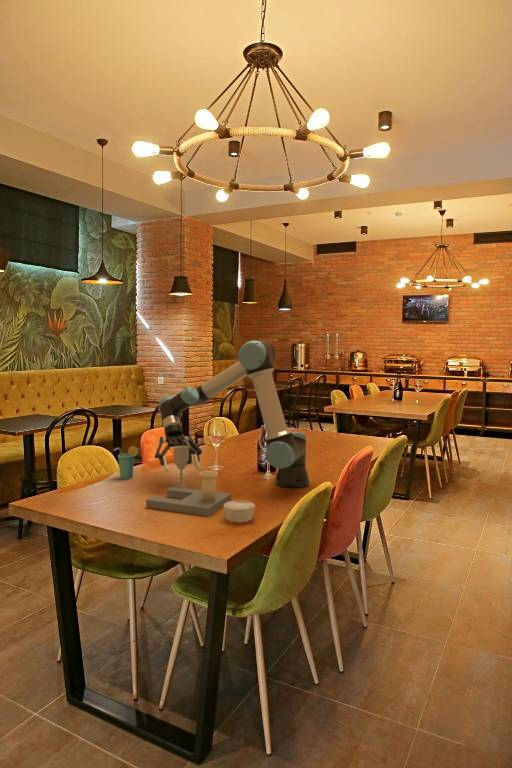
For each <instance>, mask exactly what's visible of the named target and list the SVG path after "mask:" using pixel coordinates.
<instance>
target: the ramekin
mask: <svg viewBox="0 0 512 768" xmlns="http://www.w3.org/2000/svg"><path fill="white" fill-rule="evenodd" d="M222 508H223V509H224V517H225V519H226V520H227V521H228V522H231V523H233V522H236V524H244V523H243V522H245V523H248V521H249V522H251V521H252V519H253V517H254V513H255V509H256V504H255V503H253V502H252V501H249V500H231V501H229V502H226V503H225V504H224V506H223V507H222ZM250 520H251V521H250Z"/></svg>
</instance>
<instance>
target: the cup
mask: <svg viewBox="0 0 512 768" xmlns="http://www.w3.org/2000/svg"><path fill="white" fill-rule="evenodd" d="M117 450H118V451H119V454H118V455H117V458H118V466H119V467H118V468H119V477H121V478H122V479H121V478H120V479H121V480H131V479H133V478H132V477H133V475H134V468H135V467H134V466H135V465H134V464H135V457H137V456H138V454H139V450H138V447H137V446H134V445H132V446H130V447H129V448H128V450H127V452H125V453H123V452H122V449H121V447H119V446H118V447H116V448H114V449H112V451H113V452H116V451H117ZM130 478H131V479H130Z"/></svg>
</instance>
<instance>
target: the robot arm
mask: <svg viewBox="0 0 512 768" xmlns="http://www.w3.org/2000/svg"><path fill="white" fill-rule="evenodd" d="M237 355H238V361H237V362H234V363H233V364H232V365H230V366H228V367H227V368H226V369H224V370H222V371H221V372H219V373H218V374H216V375H215V376H213V377H211V378H210V379H208V380H206V381H205V382H203V383H202V384H200V385H199V386H197V387H196V388H195V387H192V386H187V387H185V388H183V389H182V390H181V391H180V392H179V393H177V394H176V395H174V396H166V397H162V398H161V399H160V400H159V401H158V408H159V414H160V416H161V420H162V426H163V430H164V435H165V437H163V436H159V441H158V446H157V449H156V452H155V455H154V458H155V459H158V460H159V462H160V463H159V464H160V465H161V466H163V470H164V474H167V473H168V469H169V468H168V464H167V459H166V454H167V452H168V451H169V450H170V448H173V447H175V446H189V447H190V448H189V452H190V453H191V454H192V460H193V463H194V466H195V467H194V468H195V470H196V471H199V469H200V461H201V459H200V456H201V455H202V453H203V450H202V449H201V448H200V447H199V445H198V444H197V443H195V442H196V441H194V439H193V440H192V438H191V437H192V436H191V434H188V437H185V435H184V433H183V428H182V425H181V420H180V414H181V413H183V412H184V411H185V410H186V409H188V408H190V407H194V406H198V405H204V404H205V403H207V402H208V401H209V400H210V399H211V398H213V397H215V396H216V395H218V394H219V393H221V392H223V391H225V390H226V389H228V388H229V387H231V386H233V385H234V384H236V383H237V382H239V381H241V380H243V379H244V378H246V377H248V378H250V379H251V381H252V383H253V387H254V392H255V394H256V398H257V402H258V405H259V409H260V412H261V416H262V420H263V424H264V427H265V430H266V436H265V438H264V441H265V445H266V448H265V459H266V461H267V462H268V463H269V465H270V466H272V467H273V468H274V469H275V468H276V469H277V472H276V475H275V478H274V484H275V485H276V484H277V485H276V486H279V487H282V488H288V487H300V488H304V486H305V487H308V486H309V485H310V477H309V475H308V471H307V470H308V469H307V466H306V464H307V463H306V462H307V460H306V459H307V456H306V455H307V435H306V433H305V432H296V431H292V430H290V429H288V427H287V424H286V419H285V416H284V413H283V409H282V405H281V402H280V399H279V396H278V395H279V394H278V392H277V388H276V384H275V380H274V377H273V374H272V373H273V371H274V370H275V366H274V362H275V361H276V358H277V351H276V347H275V346H274V345H273V344H272V343H271V342H269V341H267V340H255V339H253V340H249V341H247V342H245V343H244V344H243V345H242V346H241V347H240V349H239V351H238V354H237ZM184 440H186V441H187V442H188V443H189V444H190V445H191V446H190V445H189V444H187V442H186V441H184ZM165 442H166V443H167V445H165V447H164V448H163V450H162V452H161V453H160V451H161V449H162V446H163V444H164V443H165ZM307 485H308V486H307Z"/></svg>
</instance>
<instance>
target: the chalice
mask: <svg viewBox="0 0 512 768" xmlns="http://www.w3.org/2000/svg"><path fill="white" fill-rule="evenodd" d="M189 448H190V447H189V446H175V447H172V449H173V461H174V464H175V466H176V467H177V469H179V478H178V479H179V483H177V484H176V487H180V488H187V486H186V484H185V483H184V482H183V481H184V480H183V479H184V476H183V475H184V473H183V471H184V469H185V468H186V466H187V464H188V463H187V462H188V459H189Z"/></svg>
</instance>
